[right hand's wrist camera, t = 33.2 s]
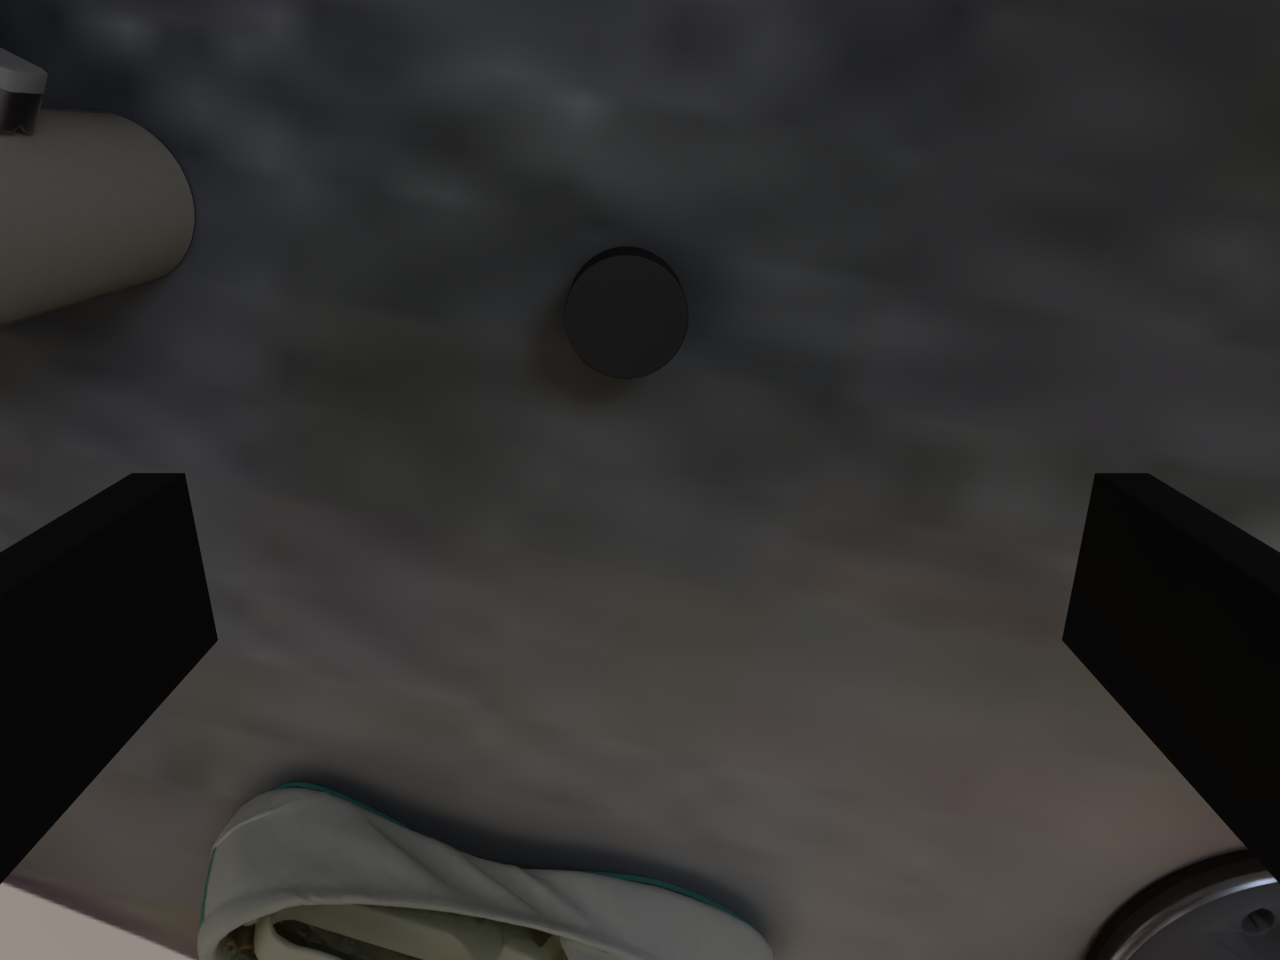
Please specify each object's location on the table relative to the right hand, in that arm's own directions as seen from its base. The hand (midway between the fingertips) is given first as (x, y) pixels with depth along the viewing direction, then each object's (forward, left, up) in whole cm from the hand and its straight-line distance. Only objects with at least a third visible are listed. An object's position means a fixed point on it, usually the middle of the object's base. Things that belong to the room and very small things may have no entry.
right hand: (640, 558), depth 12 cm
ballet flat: (-25, -4, -17) cm, 31 cm away
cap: (0, 0, -15) cm, 15 cm away
